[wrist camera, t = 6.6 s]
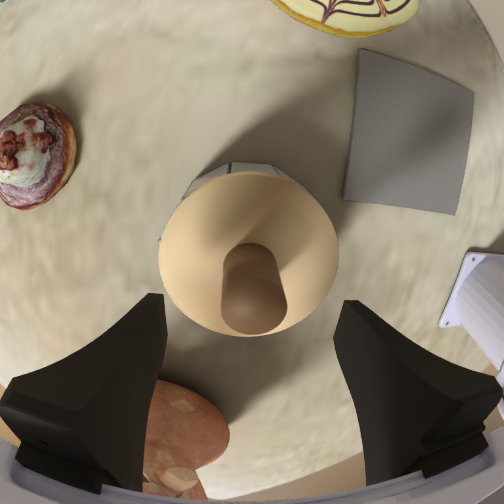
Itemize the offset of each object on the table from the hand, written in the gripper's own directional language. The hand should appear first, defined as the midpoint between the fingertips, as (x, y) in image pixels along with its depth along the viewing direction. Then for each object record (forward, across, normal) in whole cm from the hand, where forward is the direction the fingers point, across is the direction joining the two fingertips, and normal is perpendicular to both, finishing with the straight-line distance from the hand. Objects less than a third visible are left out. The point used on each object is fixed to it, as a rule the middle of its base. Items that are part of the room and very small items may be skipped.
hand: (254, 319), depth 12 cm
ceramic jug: (+9, +8, +20) cm, 23 cm away
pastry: (+9, +15, -6) cm, 19 cm away
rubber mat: (+9, -11, -8) cm, 16 cm away
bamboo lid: (+5, 0, 0) cm, 5 cm away
